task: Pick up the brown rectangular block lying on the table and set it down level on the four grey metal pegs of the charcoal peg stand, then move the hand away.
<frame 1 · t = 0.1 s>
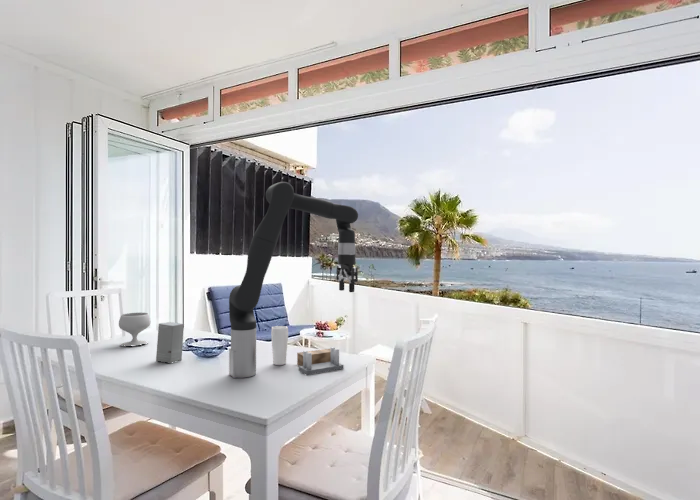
hand: (346, 291, 176), 29 cm above the table, tool pointing down, fingers open, 8 cm apart
peg stand: (321, 369, 159), on the table
drinking glass: (279, 364, 167), on the table
brown rectangular block: (317, 363, 168), on the table
chalice: (134, 344, 202), on the table
skincare box: (170, 361, 172), on the table
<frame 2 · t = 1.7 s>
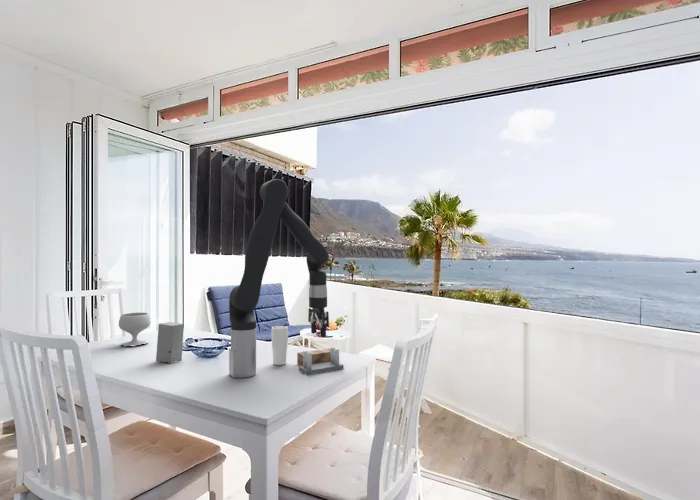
hand: (318, 334, 169), 12 cm above the table, tool pointing down, fingers open, 8 cm apart
nothing on the table moved.
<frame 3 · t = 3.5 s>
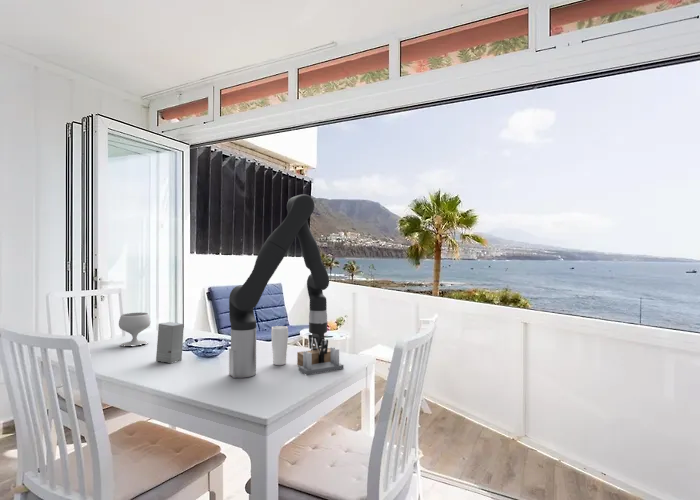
hand: (317, 361, 169), 1 cm above the table, tool pointing down, fingers closed on brown rectangular block, 5 cm apart
brown rectangular block: (317, 363, 169), on the table, touching gripper
everything else where it was.
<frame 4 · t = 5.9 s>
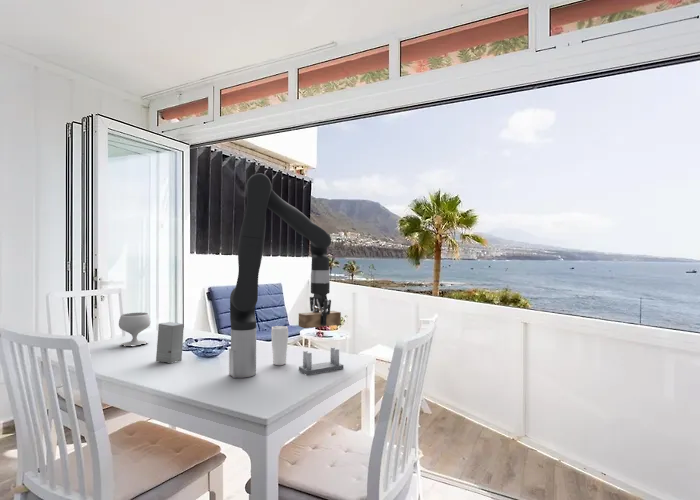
hand: (319, 323, 162), 17 cm above the table, tool pointing down, fingers closed on brown rectangular block, 5 cm apart
brown rectangular block: (319, 325, 162), point 17 cm above the table, touching gripper
everything else where it was.
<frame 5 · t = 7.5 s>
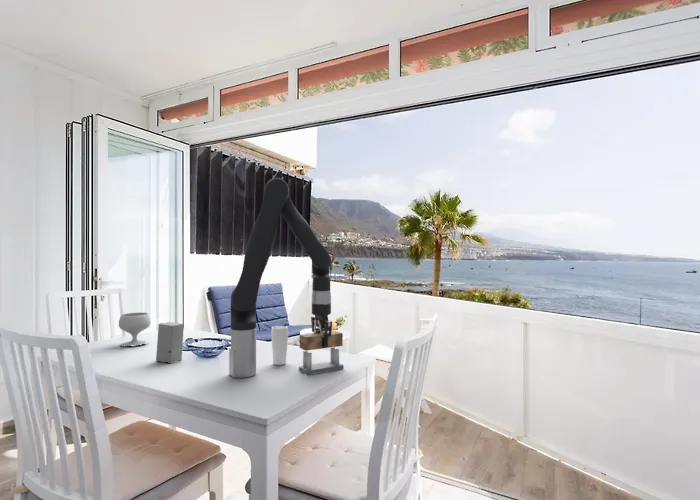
hand: (321, 345, 159), 9 cm above the table, tool pointing down, fingers closed on brown rectangular block, 5 cm apart
brown rectangular block: (321, 346, 159), point 9 cm above the table, touching gripper
everything else where it was.
when the fingers open (9 cm above the table, at t = 8.5 s): brown rectangular block drops 1 cm, resting on peg stand.
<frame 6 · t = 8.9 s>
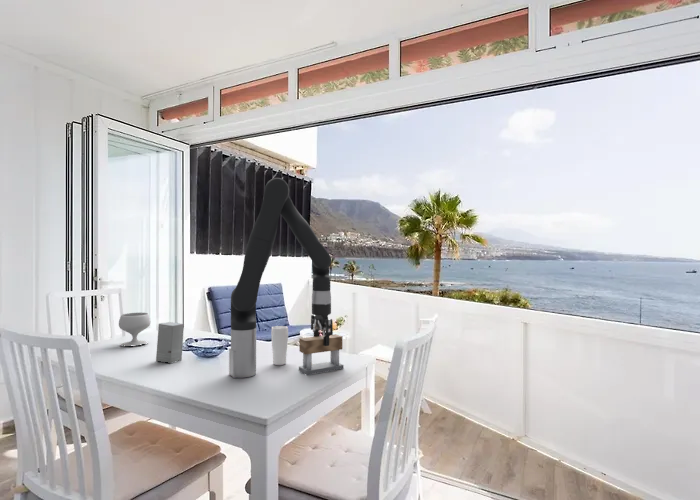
hand: (321, 343, 159), 10 cm above the table, tool pointing down, fingers open, 8 cm apart
brown rectangular block: (321, 350, 159), point 7 cm above the table, touching peg stand
everything else where it was.
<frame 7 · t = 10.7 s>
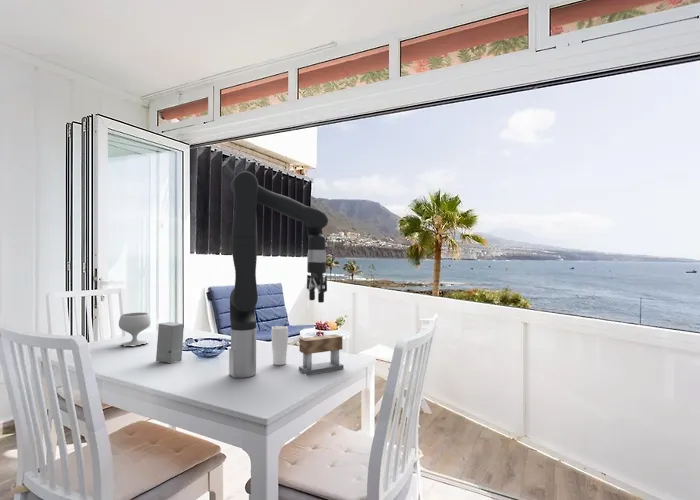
hand: (316, 301, 165), 26 cm above the table, tool pointing down, fingers open, 8 cm apart
nothing on the table moved.
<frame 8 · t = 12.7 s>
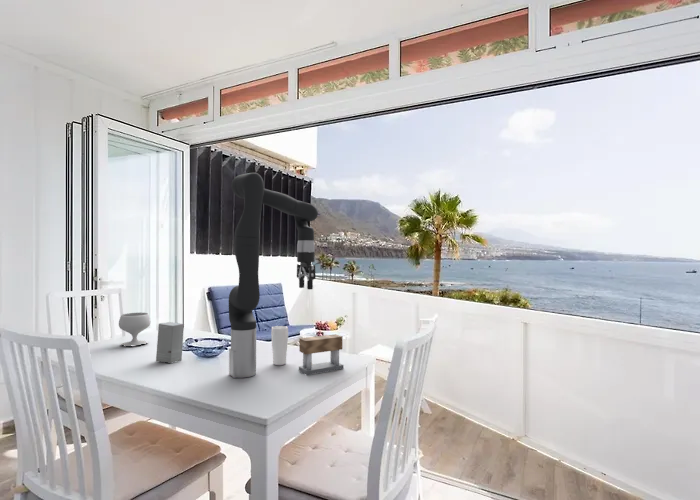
hand: (305, 288, 177), 30 cm above the table, tool pointing down, fingers open, 8 cm apart
nothing on the table moved.
at the end: brown rectangular block 0.1 cm off-centre on the peg stand, point 7.5 cm above the peg stand's base; brown rectangular block tilted 0°; the gripper is holding nothing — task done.
